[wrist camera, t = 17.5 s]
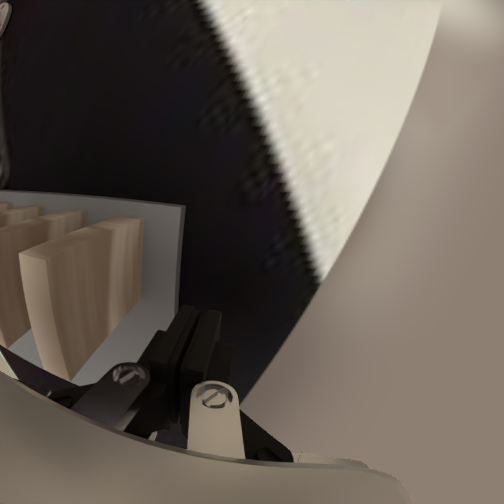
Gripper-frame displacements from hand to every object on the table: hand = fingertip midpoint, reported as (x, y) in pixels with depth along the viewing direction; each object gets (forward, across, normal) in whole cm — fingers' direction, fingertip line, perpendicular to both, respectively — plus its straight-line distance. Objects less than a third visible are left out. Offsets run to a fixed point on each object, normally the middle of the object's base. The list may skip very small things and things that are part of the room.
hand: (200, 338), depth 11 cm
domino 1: (+8, +7, 0) cm, 10 cm away
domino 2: (+8, +12, 0) cm, 14 cm away
